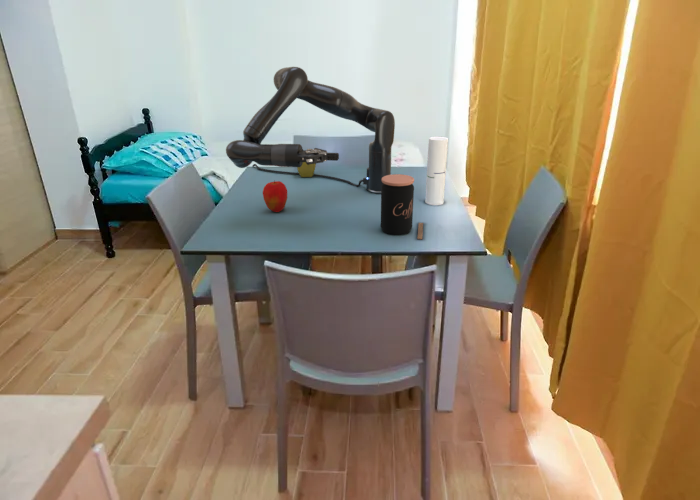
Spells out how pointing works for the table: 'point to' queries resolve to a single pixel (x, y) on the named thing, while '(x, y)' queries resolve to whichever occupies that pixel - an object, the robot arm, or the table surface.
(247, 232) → the table surface
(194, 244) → the table surface
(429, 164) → the cylindrical container
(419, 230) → the strip
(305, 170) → the flower pot
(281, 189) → the apple
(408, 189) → the coffee jar
